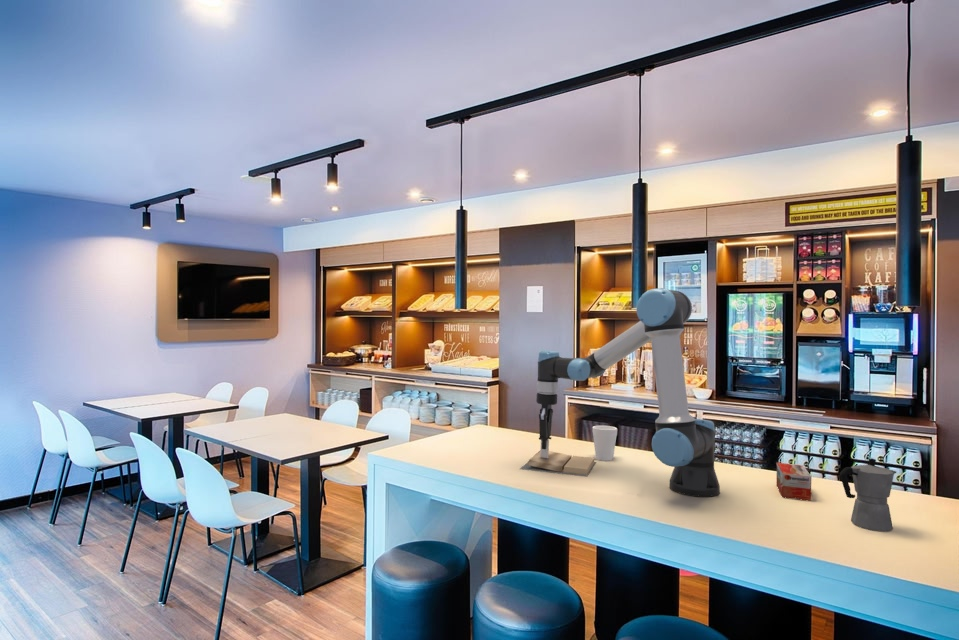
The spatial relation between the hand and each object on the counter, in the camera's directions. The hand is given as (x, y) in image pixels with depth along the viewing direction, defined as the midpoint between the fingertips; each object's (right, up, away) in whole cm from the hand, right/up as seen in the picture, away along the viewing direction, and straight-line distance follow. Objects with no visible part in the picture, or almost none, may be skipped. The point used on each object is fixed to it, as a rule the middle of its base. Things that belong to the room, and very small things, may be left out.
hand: (544, 457), depth 200 cm
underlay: (+6, -4, +1) cm, 7 cm away
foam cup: (+25, -5, +13) cm, 29 cm away
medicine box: (+77, -6, -24) cm, 81 cm away
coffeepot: (+81, -5, -53) cm, 97 cm away
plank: (+3, -3, +2) cm, 4 cm away
